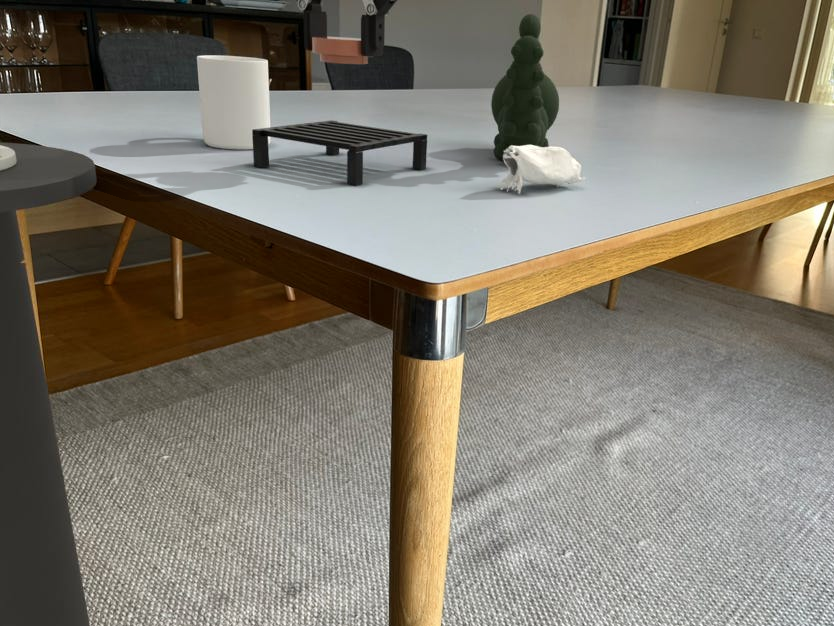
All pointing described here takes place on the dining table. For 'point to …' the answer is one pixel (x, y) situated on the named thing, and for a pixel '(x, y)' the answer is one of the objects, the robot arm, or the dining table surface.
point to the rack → (340, 143)
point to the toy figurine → (524, 94)
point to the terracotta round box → (338, 50)
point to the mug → (233, 99)
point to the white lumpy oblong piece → (540, 166)
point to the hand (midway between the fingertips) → (343, 51)
